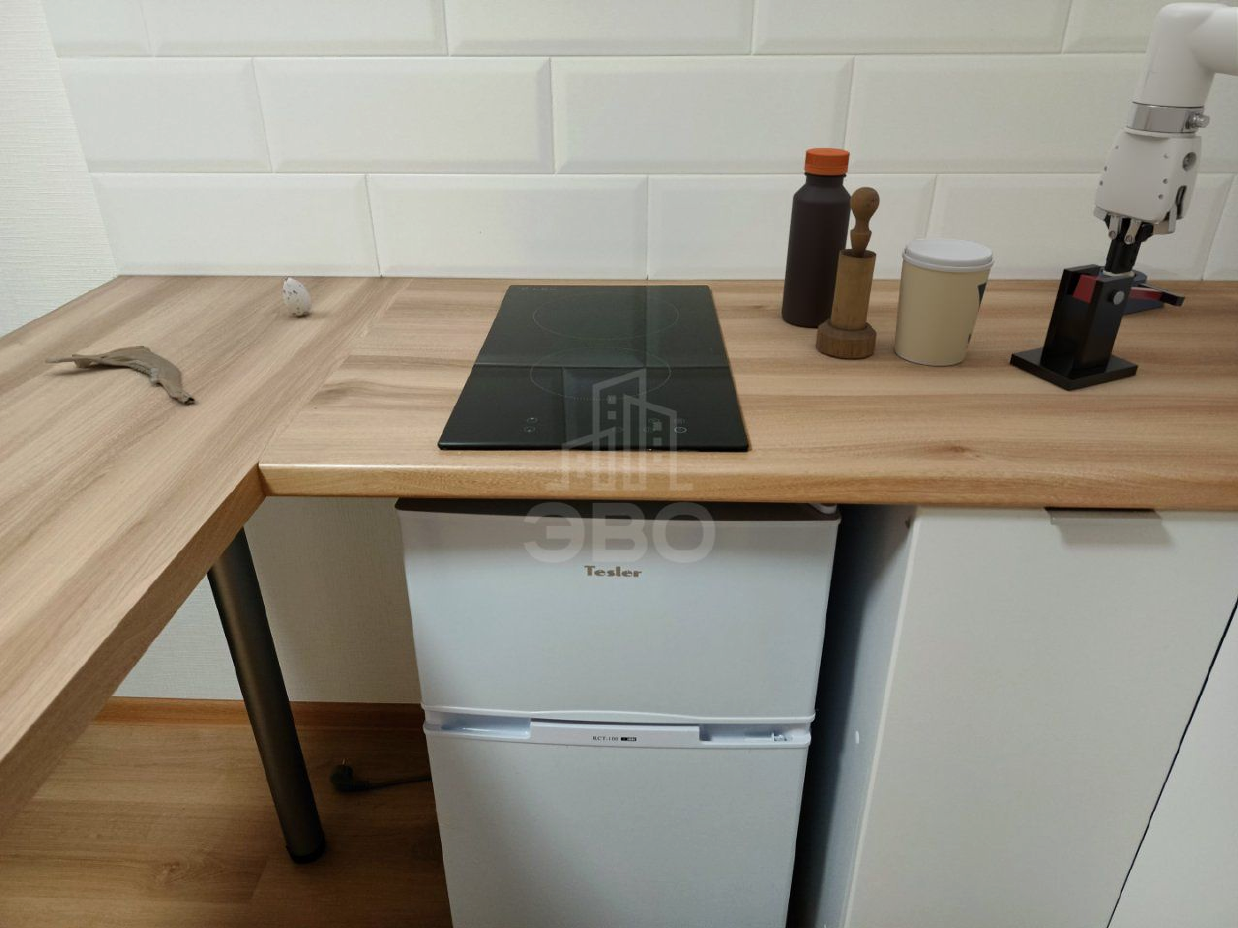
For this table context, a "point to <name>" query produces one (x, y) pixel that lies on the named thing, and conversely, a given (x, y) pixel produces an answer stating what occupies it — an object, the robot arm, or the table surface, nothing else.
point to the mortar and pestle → (853, 288)
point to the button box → (1137, 304)
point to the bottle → (816, 238)
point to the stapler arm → (1139, 292)
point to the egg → (296, 297)
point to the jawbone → (137, 367)
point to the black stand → (1082, 334)
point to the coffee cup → (940, 299)
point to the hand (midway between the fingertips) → (1117, 271)
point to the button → (1118, 274)
